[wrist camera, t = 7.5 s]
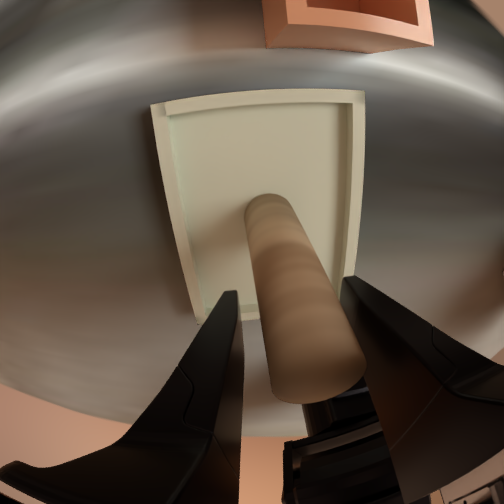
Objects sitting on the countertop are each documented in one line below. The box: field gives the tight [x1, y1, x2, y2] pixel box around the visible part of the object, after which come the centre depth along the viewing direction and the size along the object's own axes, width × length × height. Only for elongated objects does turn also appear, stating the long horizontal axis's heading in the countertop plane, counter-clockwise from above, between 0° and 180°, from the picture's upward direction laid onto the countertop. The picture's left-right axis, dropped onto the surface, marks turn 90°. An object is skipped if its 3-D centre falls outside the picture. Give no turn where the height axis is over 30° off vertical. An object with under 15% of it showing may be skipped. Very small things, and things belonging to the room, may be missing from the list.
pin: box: [244, 193, 367, 404], centre depth 10 cm, size 2×2×9 cm
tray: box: [151, 89, 365, 325], centre depth 14 cm, size 12×9×1 cm
